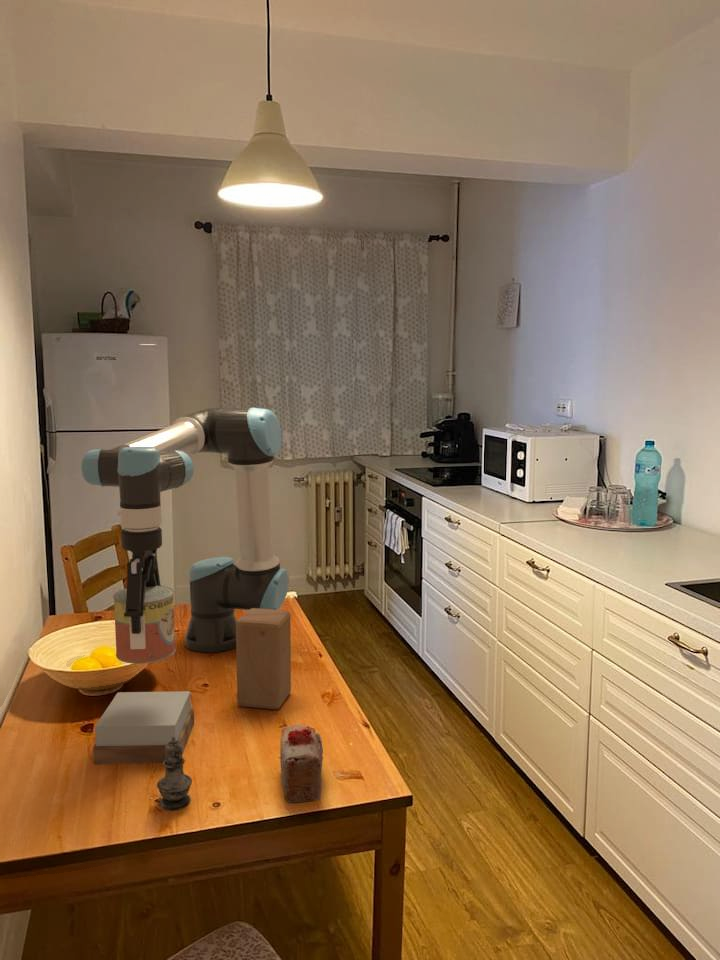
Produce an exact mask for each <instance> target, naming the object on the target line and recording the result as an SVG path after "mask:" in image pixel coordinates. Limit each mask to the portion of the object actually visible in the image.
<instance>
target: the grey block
mask: <svg viewBox="0 0 720 960" xmlns="http://www.w3.org/2000/svg"><path fill="white" fill-rule="evenodd" d="M191 699H192V698H191V691H189V690H187V691H185V690H184V691H126V692H123V691H120V692H119V691H118V692H117V693H116V694H115V696H114V697H113V699H112V701H111V702H110V704H109V705H108V706H107V708H106V709H105V711H104V712H103V714H102V715H101V717H100V719H99V720H97V722H96V724H95V726H94V732H95V734H94V735H95V744H96V746H148V745H166V744H167V743H168V742H170V741H172V740H171V739H172V737H174V738H175V740H177V741H178V739H179V737H180V734H181V732H182V729H183V727H184V725H185V722H186V720H187V718H188V715H189V713H190V710H191V708H192V701H191Z"/></svg>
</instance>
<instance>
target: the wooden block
mask: <svg viewBox="0 0 720 960" xmlns="http://www.w3.org/2000/svg"><path fill="white" fill-rule="evenodd" d="M236 620H237V622H236V647H235V648H236V651H235V653H236V654H235V655H236V698H237V701H236V702H237V703H236V704H237V705H238V706H240V707H247V708H248V707H249V708H257V709H258V708H259V709H266V710H267V709H268V710H278V709H280V708H281V706H282V705H283V703H284V702H285V701H286V699H287V698H288V697H289V695H290V694H291V690H292V667H291V666H292V663H291V661H292V660H291V657H292V654H291V653H292V652H291V648H292V646H291V642H292V640H291V631H292V630H291V613H290V611H289V610H284V609H279V610H272V609H259V608H251V609H249V610H246V611H245V613H244V614H243V615H241V617H239V618H238V619H236Z"/></svg>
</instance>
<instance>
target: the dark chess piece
mask: <svg viewBox="0 0 720 960" xmlns="http://www.w3.org/2000/svg"><path fill="white" fill-rule="evenodd" d="M171 740H172V741H170V742H168V743H167V744H166V746H165V759H166V760H165V761H164V762H163V763H162V764H163V766H164V768H165V770H164V771H165V773H164V776H163V777H161V778H160V779H159V780H158V781H157V783H156V788H157V789H158V790H159V791H158V792H159V793H160V796H161V797H162V798H161V799H160V800H159V807H160V808H161V809H162V810H165V811H174V812H175V811H179V810H182V809H184V808H186V807H188V806H189V805H190V803H191V801H192V799H191V797H190V795H189V794H188V793H189V791H190V788H191V785H192V783H193V779H192V777H191V776H189V775H188V774H186V773H184V764H185V763H186V761H185V759H184V758H183V754H182V744H181V743H180V742H179V741H177V740H175V738H174V737H172V739H171Z"/></svg>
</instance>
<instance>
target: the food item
mask: <svg viewBox="0 0 720 960" xmlns="http://www.w3.org/2000/svg"><path fill="white" fill-rule="evenodd" d="M279 748H280V750H279V751H280V753H279V754H280V756H279V759H280V773H281V780H282V781H281V782H282V789H283V792H284V797H285V798H286V800H287V802H288V803H293V804H294V803H300V802H308V801H311V802H315V801H316V800H317V801H318V800H319V801H320V798H321V795H322V768H323V760H324V755H323V754H324V748H323V741H322V736H321V734H320V733H316V729H315V728H314V727H311V726H309V725H306V724H305V725H304V724H294V725H290V726H283V728H282V730H281V737H280V747H279Z"/></svg>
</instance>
